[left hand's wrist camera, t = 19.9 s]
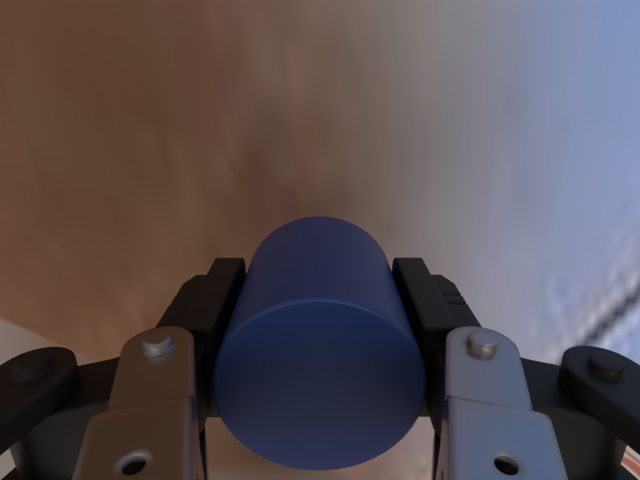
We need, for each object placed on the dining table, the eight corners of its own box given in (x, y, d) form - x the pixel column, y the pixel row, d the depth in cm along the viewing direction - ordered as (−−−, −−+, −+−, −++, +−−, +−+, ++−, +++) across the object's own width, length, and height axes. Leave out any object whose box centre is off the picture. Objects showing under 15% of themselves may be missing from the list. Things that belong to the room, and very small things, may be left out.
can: (399, 219, 12) (445, 304, 7) (381, 346, 13) (411, 476, 9) (248, 210, 12) (206, 291, 7) (248, 339, 13) (213, 467, 9)
